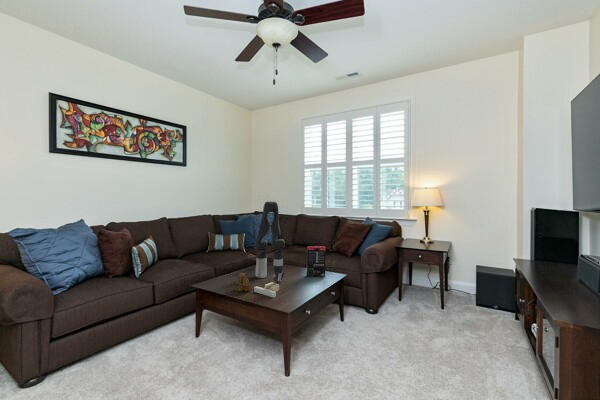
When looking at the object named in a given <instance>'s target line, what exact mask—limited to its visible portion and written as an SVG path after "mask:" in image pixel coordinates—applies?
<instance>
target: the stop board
mask: <svg viewBox="0 0 600 400" xmlns="http://www.w3.org/2000/svg"><path fill="white" fill-rule="evenodd" d="M253 290H254V292H255V293H258V294H260V295H263V296H267V297H270V298H275V297H277V291H276V292H275V291H271V290H268V289H265V287H260V286H256V285H255V286H254V287H253Z"/></svg>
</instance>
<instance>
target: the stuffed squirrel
mask: <svg viewBox="0 0 600 400" xmlns="http://www.w3.org/2000/svg"><path fill="white" fill-rule="evenodd" d="M246 275H247V272H240V273H238V275H237V276H236V279H239V280H237V281H236V282H235V283H236V285H238V286H237V287H235V291H237V292H243V291H244V292H249V291H251V289H252V285H251V283H250V281H249V279H248V278H246Z"/></svg>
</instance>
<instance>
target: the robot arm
mask: <svg viewBox="0 0 600 400" xmlns="http://www.w3.org/2000/svg"><path fill="white" fill-rule="evenodd" d="M269 214H273V220H272V222H271V221H270V219H269V217H268V215H269ZM279 215H280V212H279V205H278V202H277V201H265V202H264V204H263V210H262V215H261V219H260V220H261V221H260V223H259V226H258V227H259V228H258V232H257V235H256V238H255V241H254V246H253V248H254V251H255V250H256V251H258V252H259V251H260V252H259V253H257V254H256V255H255V256H256V257H255V259H256V262H255V263H256V265H255V277H256V278H258V279H262V278H263V279H264V278H267V277H268V276H267V268H268V267H267V266H268V263H267V259H268V258H267V255H268V241H267V240H266V239H264V238H265V237H266V236H267V235H268V234H269V233H270V231H271V244H270V245H271V247H272V248H273V249H277V250H275V251H274V252H273V265H272V266H273V267H272V268H273V275H272V276H271V278H272V280H273V281H274V282H275V283H277V284H279V287H281V281H282V280H283V278H284V276H285V272H283V270H284V258H283V256H284V255H283V254H284V248H285V247H286V241H285V239H283V238H278V237H281V234H282V233H281V229H280V219H279V218H280V216H279Z"/></svg>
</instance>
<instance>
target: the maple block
mask: <svg viewBox="0 0 600 400" xmlns="http://www.w3.org/2000/svg"><path fill="white" fill-rule="evenodd" d="M264 289H268V290H271V291H275V292H276V293H277V292H279V291H280V286H279V284H277V283H276V282H273V281H271V282H268V283H266V284H264Z"/></svg>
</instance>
